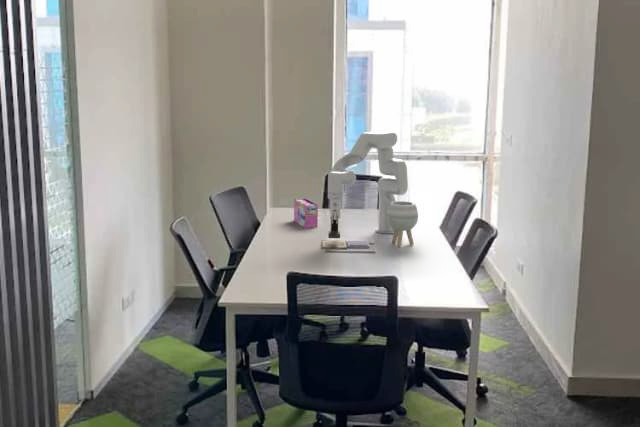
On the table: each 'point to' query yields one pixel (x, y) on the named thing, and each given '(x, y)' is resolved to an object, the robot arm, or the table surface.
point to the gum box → (305, 213)
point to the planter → (402, 220)
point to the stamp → (334, 233)
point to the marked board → (334, 244)
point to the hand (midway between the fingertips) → (334, 229)
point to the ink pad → (358, 244)
